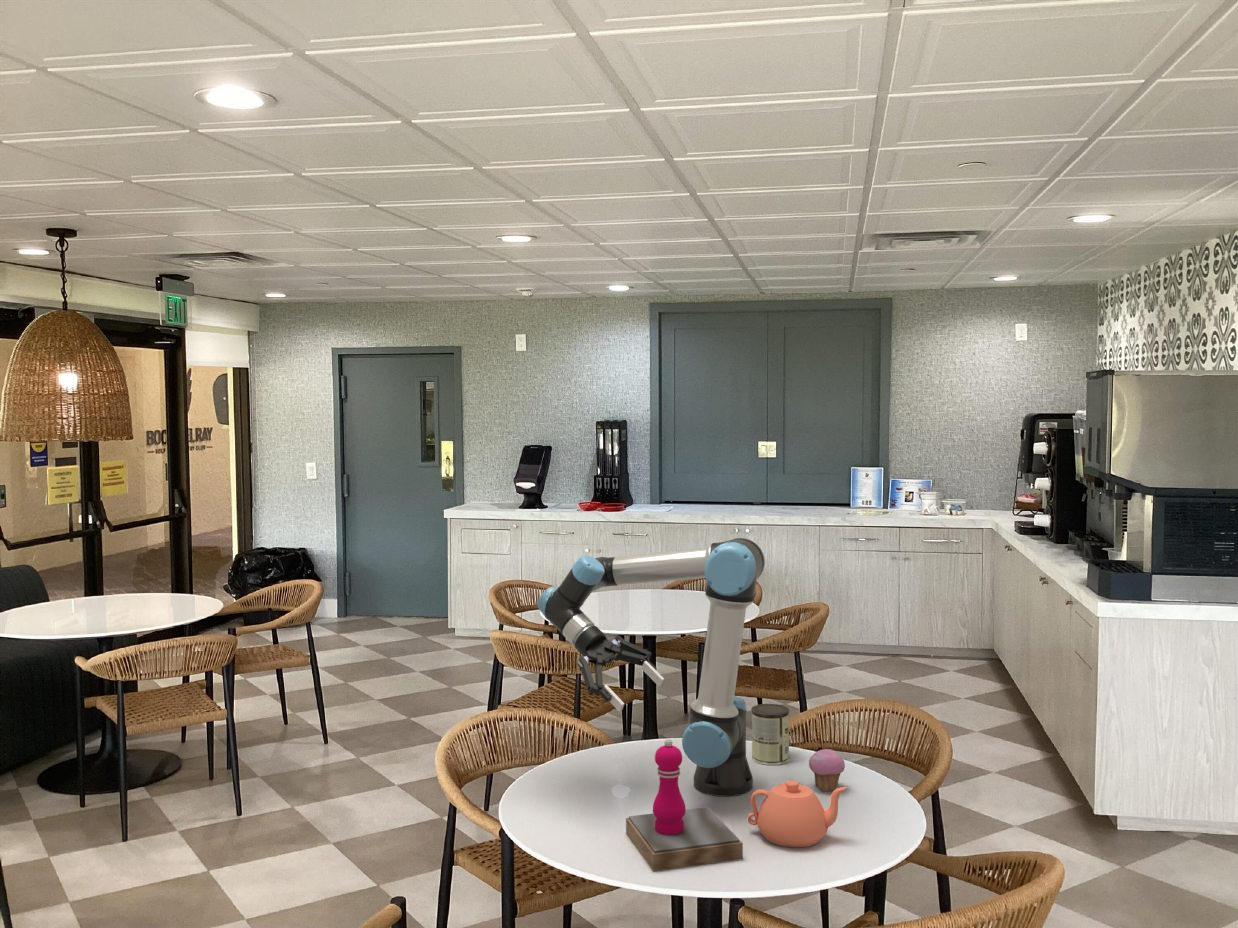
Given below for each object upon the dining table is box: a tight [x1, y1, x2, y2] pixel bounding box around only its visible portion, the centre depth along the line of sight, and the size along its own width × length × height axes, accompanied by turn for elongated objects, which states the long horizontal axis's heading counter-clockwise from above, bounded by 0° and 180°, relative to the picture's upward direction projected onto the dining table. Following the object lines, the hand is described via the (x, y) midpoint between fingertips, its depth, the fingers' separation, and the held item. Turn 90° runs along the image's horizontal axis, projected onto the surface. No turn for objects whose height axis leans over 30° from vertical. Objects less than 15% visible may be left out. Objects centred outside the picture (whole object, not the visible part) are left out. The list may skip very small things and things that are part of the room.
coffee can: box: [750, 703, 790, 766], centre depth 272 cm, size 10×10×14 cm
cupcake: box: [808, 748, 846, 792], centre depth 250 cm, size 9×9×10 cm
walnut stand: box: [625, 806, 744, 872], centre depth 217 cm, size 20×20×4 cm
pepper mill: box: [652, 738, 686, 835], centre depth 216 cm, size 7×7×20 cm
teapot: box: [747, 779, 848, 848], centre depth 221 cm, size 22×16×12 cm
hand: (642, 695), depth 236 cm, fingers open, 13 cm apart
